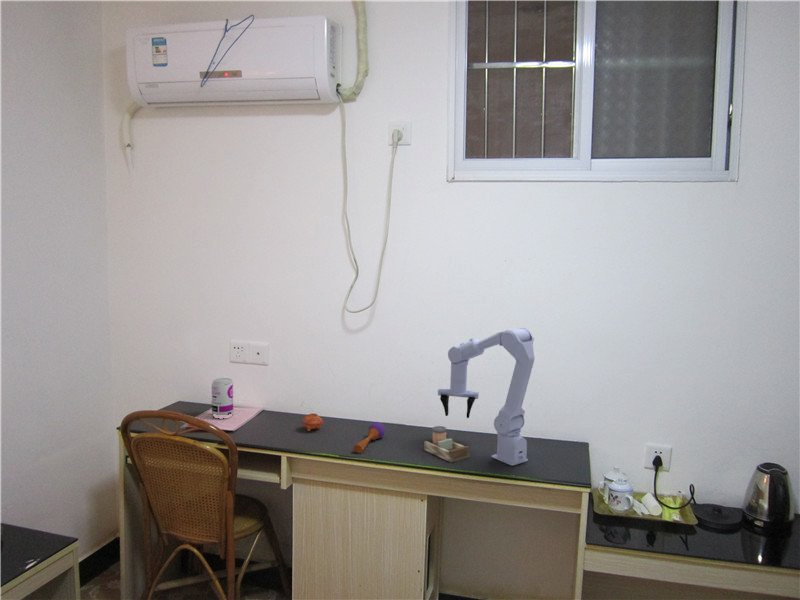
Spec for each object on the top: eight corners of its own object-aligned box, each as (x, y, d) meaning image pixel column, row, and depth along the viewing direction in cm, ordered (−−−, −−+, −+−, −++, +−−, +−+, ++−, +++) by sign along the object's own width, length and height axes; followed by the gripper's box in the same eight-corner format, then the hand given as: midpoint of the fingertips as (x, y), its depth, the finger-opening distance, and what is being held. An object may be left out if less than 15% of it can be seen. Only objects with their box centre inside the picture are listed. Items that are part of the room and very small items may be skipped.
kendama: (348, 441, 198) (371, 420, 217) (351, 457, 199) (374, 435, 217) (364, 440, 196) (385, 419, 215) (367, 457, 197) (388, 434, 215)
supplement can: (236, 414, 238) (236, 378, 236) (228, 420, 230) (228, 383, 228) (217, 413, 239) (216, 377, 237) (208, 419, 230) (208, 382, 229)
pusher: (452, 448, 201) (452, 439, 201) (439, 451, 198) (440, 442, 197) (450, 447, 202) (450, 438, 201) (437, 450, 198) (438, 441, 198)
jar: (443, 444, 205) (443, 425, 204) (448, 449, 200) (448, 430, 199) (430, 446, 203) (430, 426, 203) (435, 451, 199) (435, 431, 198)
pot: (296, 429, 220) (299, 411, 220) (311, 429, 225) (314, 412, 226) (309, 433, 214) (312, 415, 215) (325, 434, 220) (328, 416, 221)
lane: (469, 457, 196) (469, 446, 196) (451, 462, 191) (451, 451, 191) (442, 445, 207) (442, 435, 207) (424, 449, 202) (424, 439, 202)
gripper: (436, 380, 207) (435, 417, 208) (477, 383, 203) (475, 421, 205) (440, 375, 214) (439, 411, 215) (479, 379, 210) (478, 415, 211)
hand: (457, 416), depth 210 cm, fingers open, 7 cm apart
